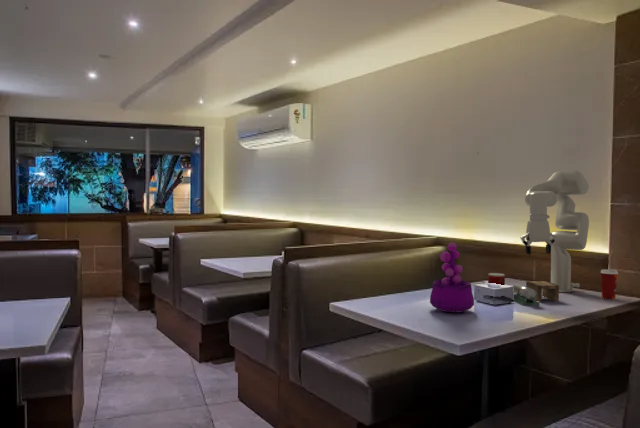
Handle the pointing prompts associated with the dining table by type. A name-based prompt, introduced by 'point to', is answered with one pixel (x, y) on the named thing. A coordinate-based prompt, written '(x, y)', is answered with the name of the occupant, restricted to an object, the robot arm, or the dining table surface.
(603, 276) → the paper cup
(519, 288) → the grey oblong lump
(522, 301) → the cradle
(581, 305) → the dining table surface
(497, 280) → the canned food
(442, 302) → the decorative plant
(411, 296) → the dining table surface
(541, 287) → the wooden box
